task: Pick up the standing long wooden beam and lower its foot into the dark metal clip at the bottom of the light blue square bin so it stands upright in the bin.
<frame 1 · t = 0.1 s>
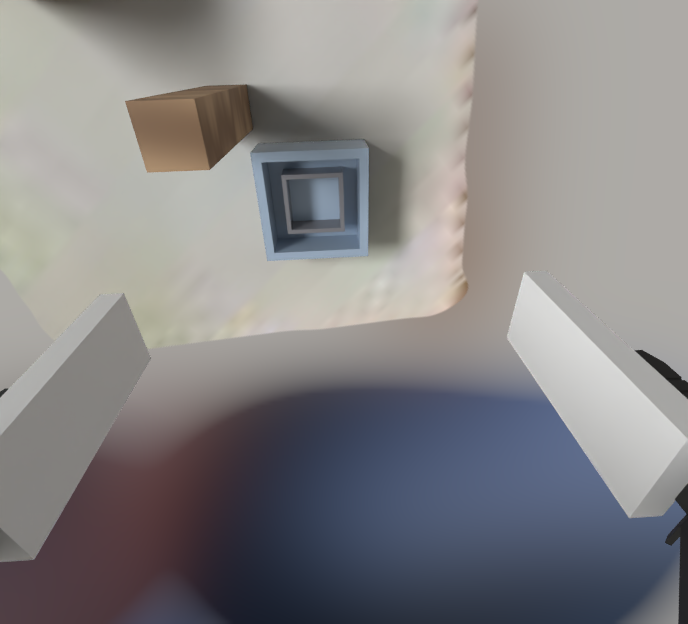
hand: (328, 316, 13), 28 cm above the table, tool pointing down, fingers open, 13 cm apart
long wooden beam: (230, 108, 33), on the table
light blue square bin: (314, 194, 38), on the table
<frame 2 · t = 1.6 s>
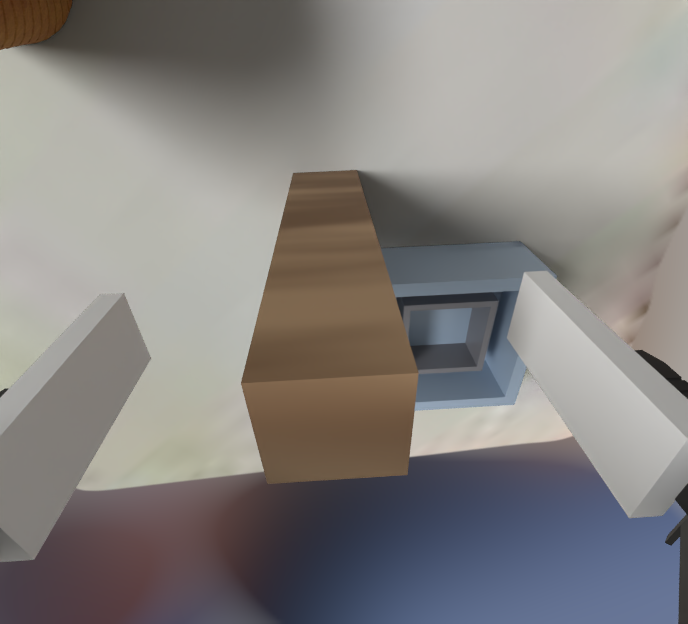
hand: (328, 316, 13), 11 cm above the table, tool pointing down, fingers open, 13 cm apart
long wooden beam: (326, 203, 22), on the table
light blue square bin: (433, 311, 26), on the table
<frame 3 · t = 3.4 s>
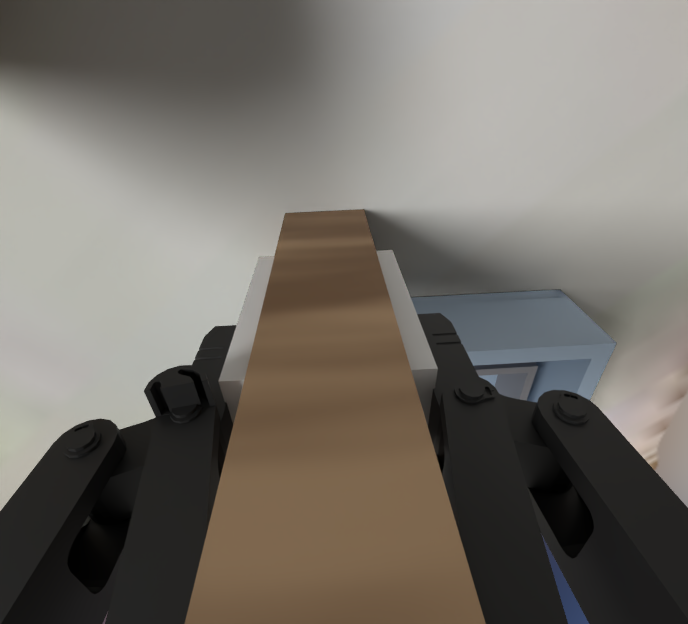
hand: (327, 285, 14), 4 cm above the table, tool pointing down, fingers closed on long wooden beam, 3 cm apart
long wooden beam: (326, 247, 18), on the table, touching gripper
light blue square bin: (452, 366, 22), on the table
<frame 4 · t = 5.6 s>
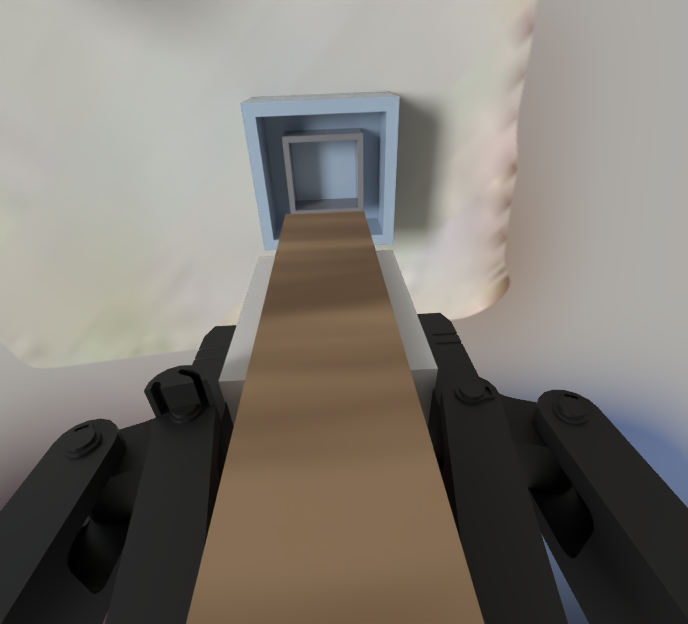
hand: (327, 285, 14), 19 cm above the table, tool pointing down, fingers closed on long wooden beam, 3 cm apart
long wooden beam: (326, 249, 18), point 15 cm above the table, touching gripper
light blue square bin: (324, 166, 30), on the table
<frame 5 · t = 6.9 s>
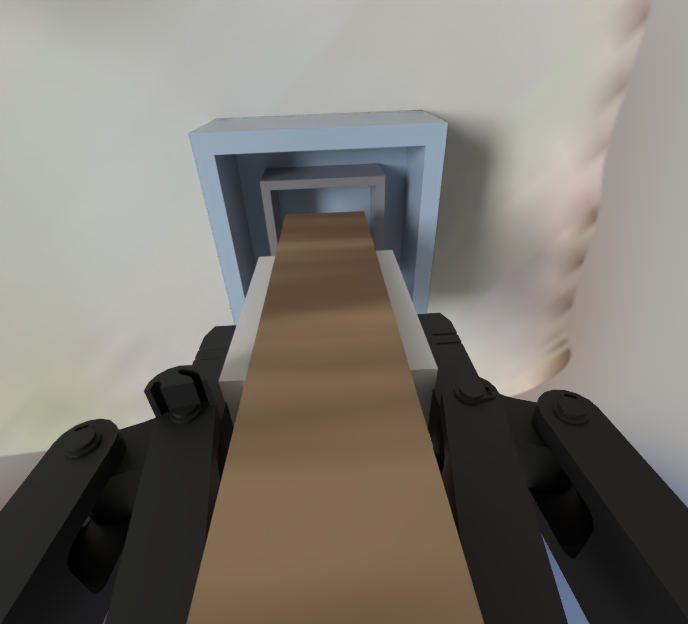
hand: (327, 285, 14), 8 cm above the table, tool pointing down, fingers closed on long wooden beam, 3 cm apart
long wooden beam: (327, 249, 18), point 4 cm above the table, touching gripper
light blue square bin: (325, 214, 21), on the table
when the fingers open (6 cm above the table, at t = 7.9 s): long wooden beam drops 1 cm, resting on light blue square bin.
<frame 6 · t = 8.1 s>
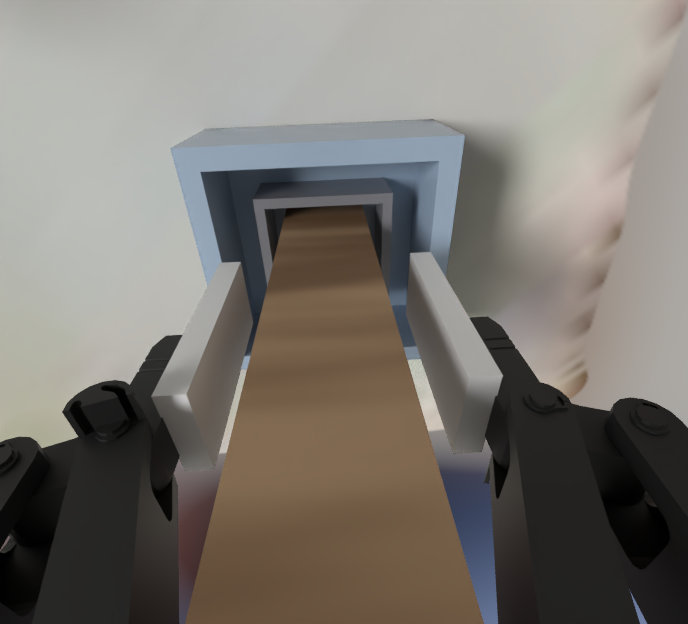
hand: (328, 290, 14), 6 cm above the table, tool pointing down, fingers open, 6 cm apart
long wooden beam: (326, 239, 19), point 1 cm above the table, touching light blue square bin
light blue square bin: (326, 232, 19), on the table
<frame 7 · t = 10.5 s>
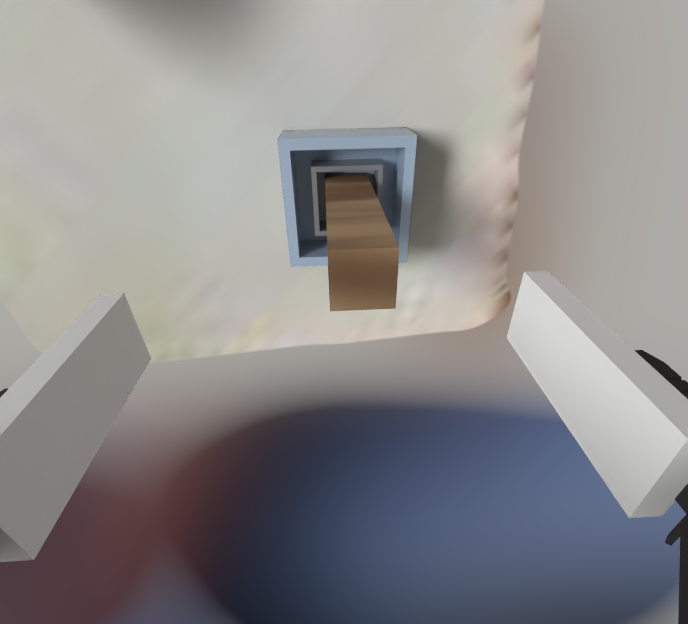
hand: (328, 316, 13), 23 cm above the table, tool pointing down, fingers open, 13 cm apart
long wooden beam: (345, 194, 32), point 1 cm above the table, touching light blue square bin
light blue square bin: (345, 191, 33), on the table
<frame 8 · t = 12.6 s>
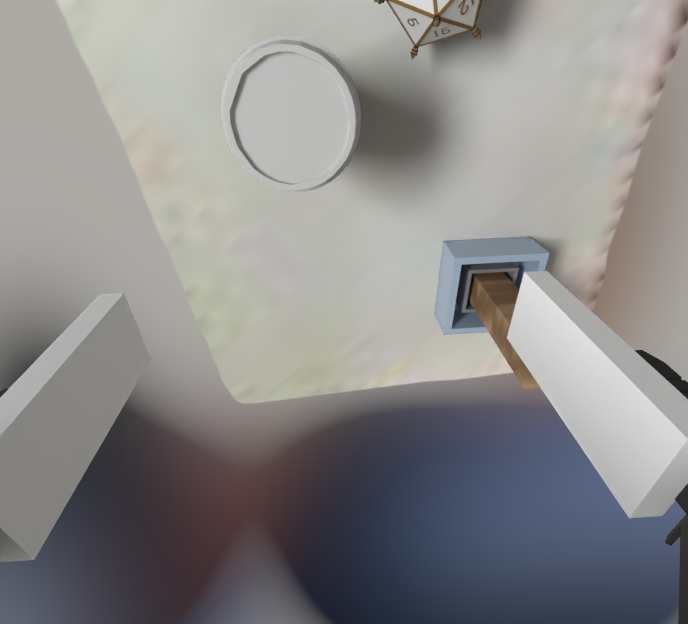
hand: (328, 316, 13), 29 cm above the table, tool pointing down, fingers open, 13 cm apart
long wooden beam: (481, 280, 45), point 1 cm above the table, touching light blue square bin
light blue square bin: (479, 277, 45), on the table
disposable coffee cup: (299, 106, 35), on the table
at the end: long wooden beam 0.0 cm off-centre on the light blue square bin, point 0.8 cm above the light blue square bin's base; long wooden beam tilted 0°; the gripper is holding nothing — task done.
